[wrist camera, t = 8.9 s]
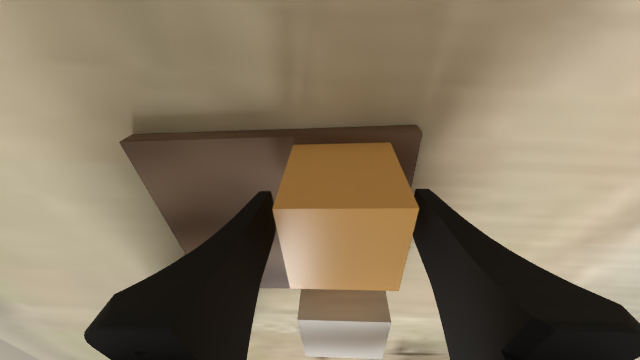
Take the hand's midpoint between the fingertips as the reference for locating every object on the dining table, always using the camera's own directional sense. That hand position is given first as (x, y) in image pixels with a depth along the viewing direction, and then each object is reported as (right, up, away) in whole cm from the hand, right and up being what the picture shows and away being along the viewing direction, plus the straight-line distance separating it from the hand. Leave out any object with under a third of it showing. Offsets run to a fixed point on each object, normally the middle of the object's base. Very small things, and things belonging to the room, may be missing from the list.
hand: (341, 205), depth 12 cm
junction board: (-4, -2, +5) cm, 6 cm away
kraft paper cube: (0, +1, +2) cm, 2 cm away
